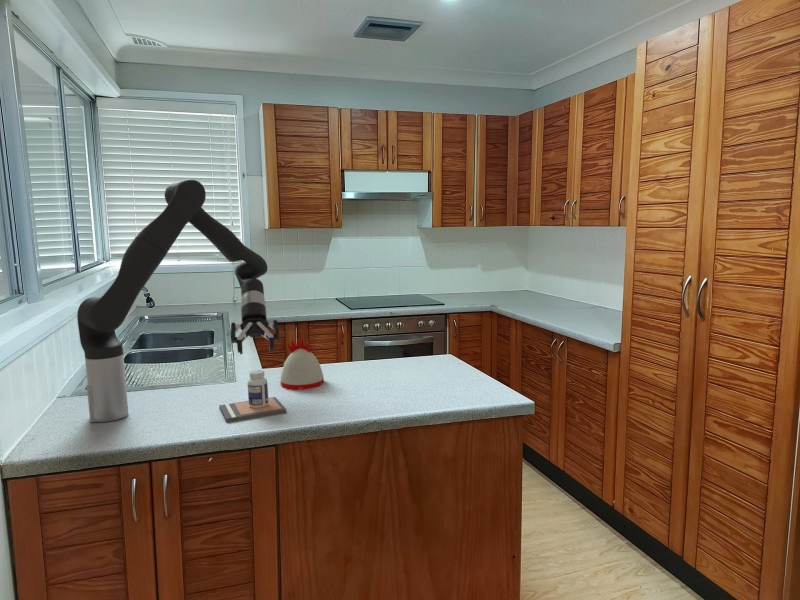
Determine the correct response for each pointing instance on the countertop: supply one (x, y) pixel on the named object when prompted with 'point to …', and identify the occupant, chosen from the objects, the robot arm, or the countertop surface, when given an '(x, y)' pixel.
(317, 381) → the white and red dome
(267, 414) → the line mat
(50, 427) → the countertop surface
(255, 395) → the pill bottle
